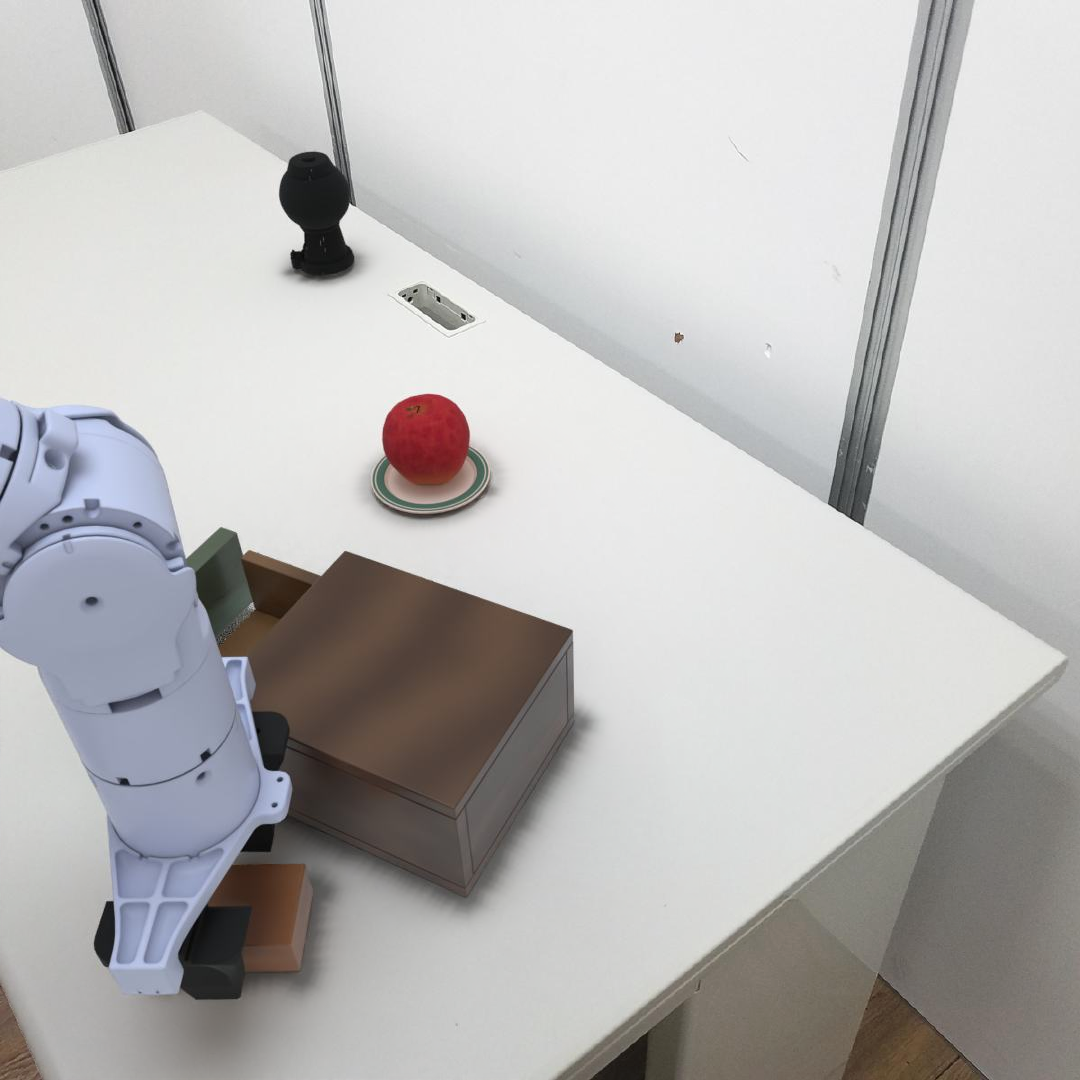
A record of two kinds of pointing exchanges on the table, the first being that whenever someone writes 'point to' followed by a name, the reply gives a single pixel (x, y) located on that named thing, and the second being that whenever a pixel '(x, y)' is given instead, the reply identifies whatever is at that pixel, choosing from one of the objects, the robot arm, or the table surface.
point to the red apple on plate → (428, 458)
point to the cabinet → (413, 714)
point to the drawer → (244, 589)
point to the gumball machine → (317, 212)
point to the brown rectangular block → (270, 912)
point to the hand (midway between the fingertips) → (235, 915)
